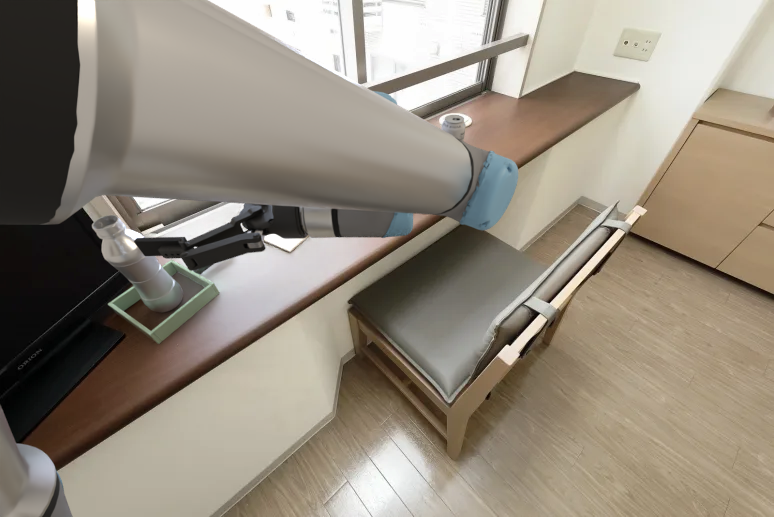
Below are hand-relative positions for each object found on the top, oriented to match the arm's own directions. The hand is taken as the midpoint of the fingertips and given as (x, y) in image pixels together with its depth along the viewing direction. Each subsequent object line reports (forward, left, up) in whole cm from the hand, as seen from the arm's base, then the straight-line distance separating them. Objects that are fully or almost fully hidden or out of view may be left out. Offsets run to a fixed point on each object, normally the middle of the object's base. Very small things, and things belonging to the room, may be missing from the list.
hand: (164, 215), depth 50 cm
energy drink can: (+64, -20, -21) cm, 70 cm away
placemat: (+23, +3, -21) cm, 32 cm away
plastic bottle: (-5, +8, -21) cm, 23 cm away
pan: (0, +8, -21) cm, 23 cm away
